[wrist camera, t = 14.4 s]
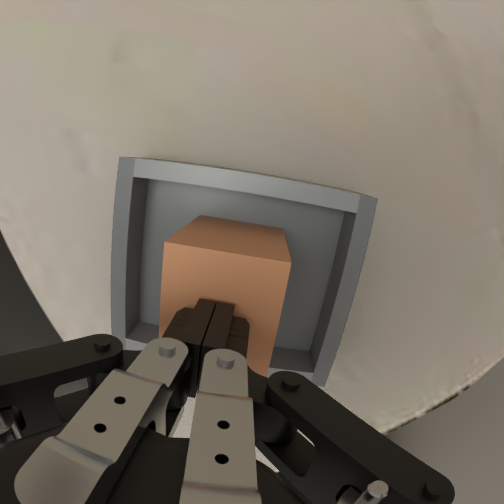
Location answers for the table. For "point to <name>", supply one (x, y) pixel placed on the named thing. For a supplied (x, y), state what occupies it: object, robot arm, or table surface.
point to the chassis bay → (251, 211)
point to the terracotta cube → (229, 277)
